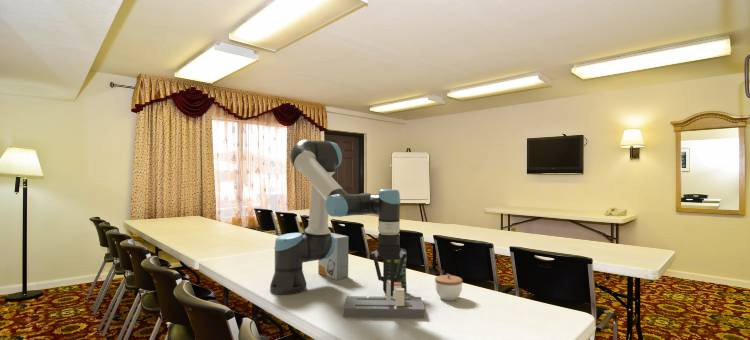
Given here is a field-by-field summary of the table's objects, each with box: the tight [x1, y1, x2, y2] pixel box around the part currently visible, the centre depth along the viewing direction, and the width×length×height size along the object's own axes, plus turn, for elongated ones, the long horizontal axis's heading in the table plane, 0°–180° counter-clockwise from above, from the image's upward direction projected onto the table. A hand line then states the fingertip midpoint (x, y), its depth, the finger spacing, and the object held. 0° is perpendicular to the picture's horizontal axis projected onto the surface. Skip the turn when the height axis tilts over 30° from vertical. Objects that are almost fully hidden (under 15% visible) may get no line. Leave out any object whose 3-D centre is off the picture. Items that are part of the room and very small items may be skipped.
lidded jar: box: [434, 273, 463, 302], centre depth 146 cm, size 11×11×9 cm
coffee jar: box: [383, 247, 408, 297], centre depth 152 cm, size 10×8×19 cm
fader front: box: [395, 288, 405, 306], centre depth 128 cm, size 3×2×6 cm
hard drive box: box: [317, 232, 349, 281], centre depth 180 cm, size 16×8×20 cm, turn 43°
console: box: [342, 295, 426, 319], centre depth 132 cm, size 28×14×3 cm, turn 89°
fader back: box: [392, 282, 401, 299], centre depth 135 cm, size 3×2×6 cm
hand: (388, 300), depth 128 cm, fingers closed
